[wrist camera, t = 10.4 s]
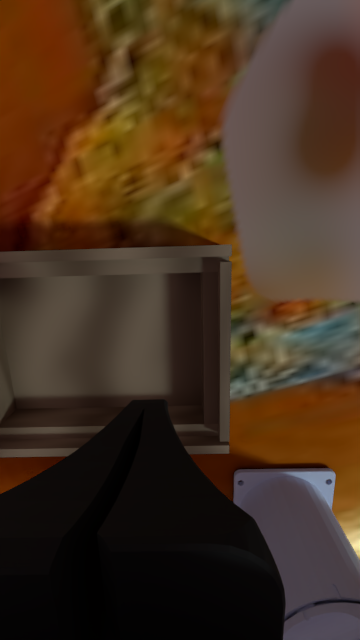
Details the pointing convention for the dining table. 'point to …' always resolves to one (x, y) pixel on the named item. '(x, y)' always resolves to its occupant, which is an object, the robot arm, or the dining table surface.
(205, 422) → the walnut box
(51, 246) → the dining table surface
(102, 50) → the dining table surface
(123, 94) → the dining table surface
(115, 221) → the dining table surface
